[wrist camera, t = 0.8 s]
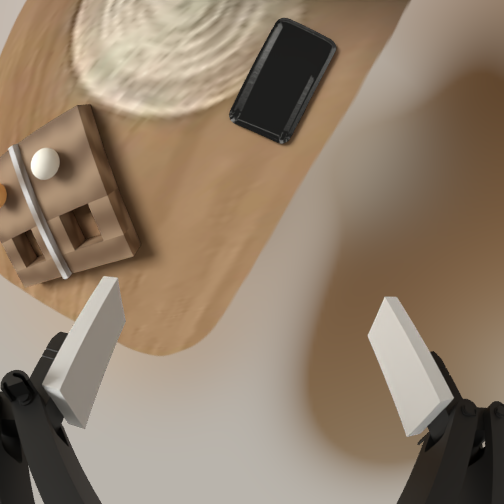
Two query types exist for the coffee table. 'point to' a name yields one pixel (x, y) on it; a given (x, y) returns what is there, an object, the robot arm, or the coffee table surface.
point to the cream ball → (45, 163)
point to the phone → (282, 80)
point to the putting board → (63, 202)
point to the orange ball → (2, 195)
